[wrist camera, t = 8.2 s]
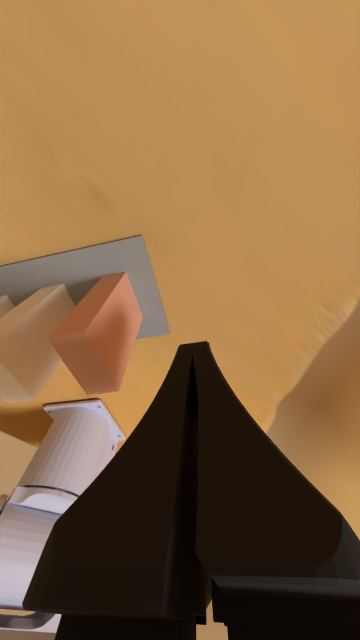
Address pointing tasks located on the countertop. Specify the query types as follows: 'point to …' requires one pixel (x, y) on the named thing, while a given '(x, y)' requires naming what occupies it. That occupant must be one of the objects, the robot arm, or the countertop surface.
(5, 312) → the domino
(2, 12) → the countertop surface
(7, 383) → the domino
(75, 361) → the domino
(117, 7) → the countertop surface
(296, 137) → the countertop surface
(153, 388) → the countertop surface
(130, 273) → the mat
